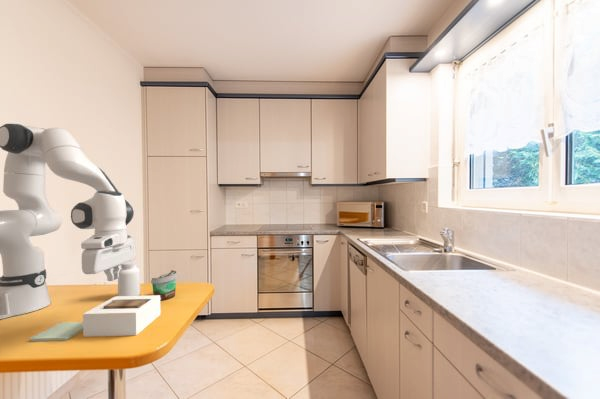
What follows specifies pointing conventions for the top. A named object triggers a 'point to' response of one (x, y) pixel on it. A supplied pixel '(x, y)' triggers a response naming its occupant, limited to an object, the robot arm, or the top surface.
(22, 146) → the robot arm
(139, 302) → the walnut slab
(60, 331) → the sage pad
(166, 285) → the food container
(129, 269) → the pill bottle
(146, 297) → the pocket jig
